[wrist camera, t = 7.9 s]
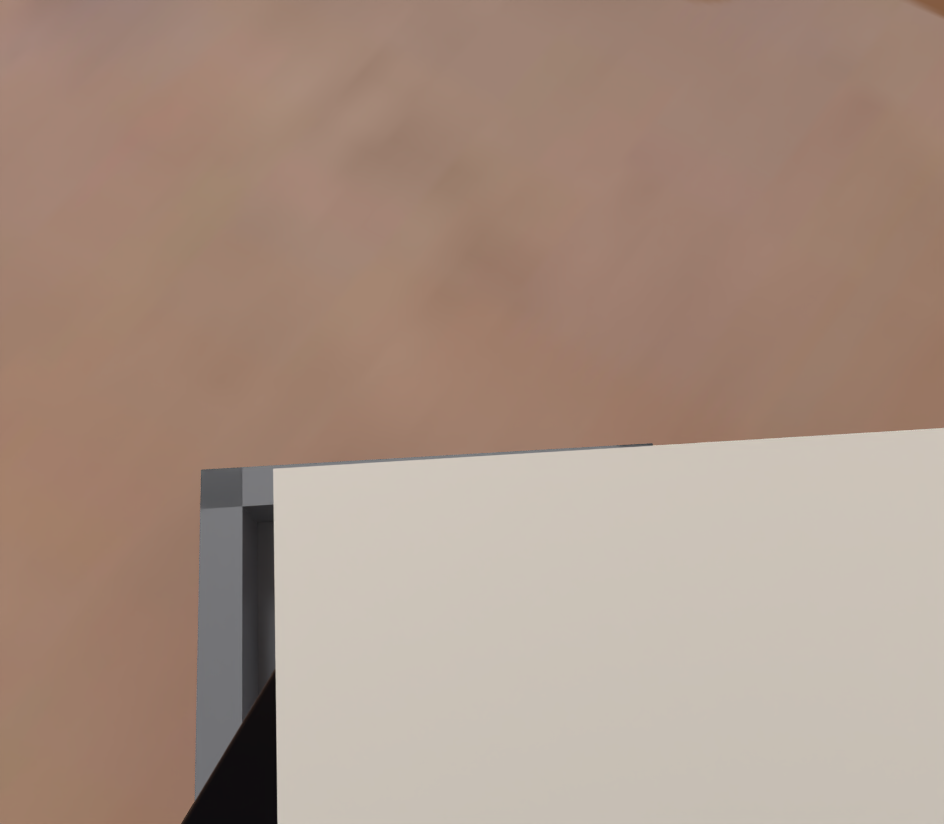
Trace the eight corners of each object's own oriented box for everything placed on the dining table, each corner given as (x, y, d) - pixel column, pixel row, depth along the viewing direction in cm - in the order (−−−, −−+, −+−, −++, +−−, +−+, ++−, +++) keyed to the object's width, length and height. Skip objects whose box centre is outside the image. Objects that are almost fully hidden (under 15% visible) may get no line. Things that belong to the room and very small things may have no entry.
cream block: (594, 821, 15) (1312, 1375, 4) (352, 857, 14) (288, 1725, 3) (562, 577, 16) (995, 426, 5) (342, 597, 16) (274, 468, 4)
